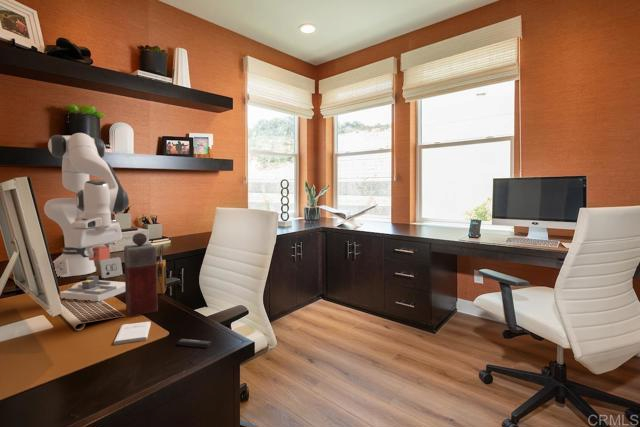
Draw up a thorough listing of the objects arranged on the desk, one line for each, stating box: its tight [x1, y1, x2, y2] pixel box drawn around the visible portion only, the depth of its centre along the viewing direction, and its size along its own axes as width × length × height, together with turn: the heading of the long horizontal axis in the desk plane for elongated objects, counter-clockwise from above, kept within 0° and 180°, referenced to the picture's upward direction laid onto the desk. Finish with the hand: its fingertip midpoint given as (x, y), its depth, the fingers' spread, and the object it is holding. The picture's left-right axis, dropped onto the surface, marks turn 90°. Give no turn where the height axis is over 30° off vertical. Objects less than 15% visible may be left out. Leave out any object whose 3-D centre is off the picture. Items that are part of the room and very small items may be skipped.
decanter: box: [123, 232, 159, 317], centre depth 120 cm, size 9×11×28 cm
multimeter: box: [156, 245, 167, 298], centre depth 140 cm, size 15×10×20 cm
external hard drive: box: [113, 321, 152, 345], centre depth 100 cm, size 2×8×12 cm
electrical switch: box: [98, 256, 123, 279], centre depth 167 cm, size 9×5×9 cm, turn 141°
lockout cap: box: [89, 245, 111, 262], centre depth 133 cm, size 5×5×5 cm
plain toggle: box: [85, 275, 100, 284], centre depth 143 cm, size 3×3×4 cm
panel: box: [59, 279, 126, 302], centre depth 139 cm, size 18×18×4 cm
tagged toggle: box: [81, 280, 95, 289], centre depth 135 cm, size 3×3×4 cm
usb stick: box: [177, 338, 212, 349], centre depth 93 cm, size 10×3×2 cm, turn 79°
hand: (99, 255), depth 133 cm, fingers closed on lockout cap, 5 cm apart
